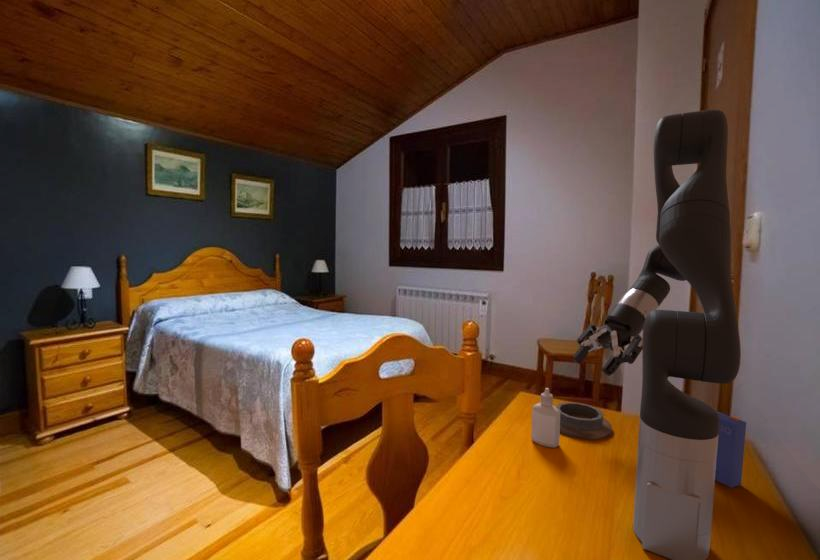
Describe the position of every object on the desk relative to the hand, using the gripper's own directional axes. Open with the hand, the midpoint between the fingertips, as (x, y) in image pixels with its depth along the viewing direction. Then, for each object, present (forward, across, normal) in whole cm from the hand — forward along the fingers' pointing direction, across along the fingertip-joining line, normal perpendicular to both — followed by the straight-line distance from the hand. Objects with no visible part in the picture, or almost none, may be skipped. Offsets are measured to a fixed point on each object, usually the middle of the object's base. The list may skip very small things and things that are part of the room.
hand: (590, 367), depth 88 cm
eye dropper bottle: (+19, 0, +3) cm, 19 cm away
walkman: (+4, +20, +18) cm, 28 cm away
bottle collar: (+10, -4, +12) cm, 16 cm away
